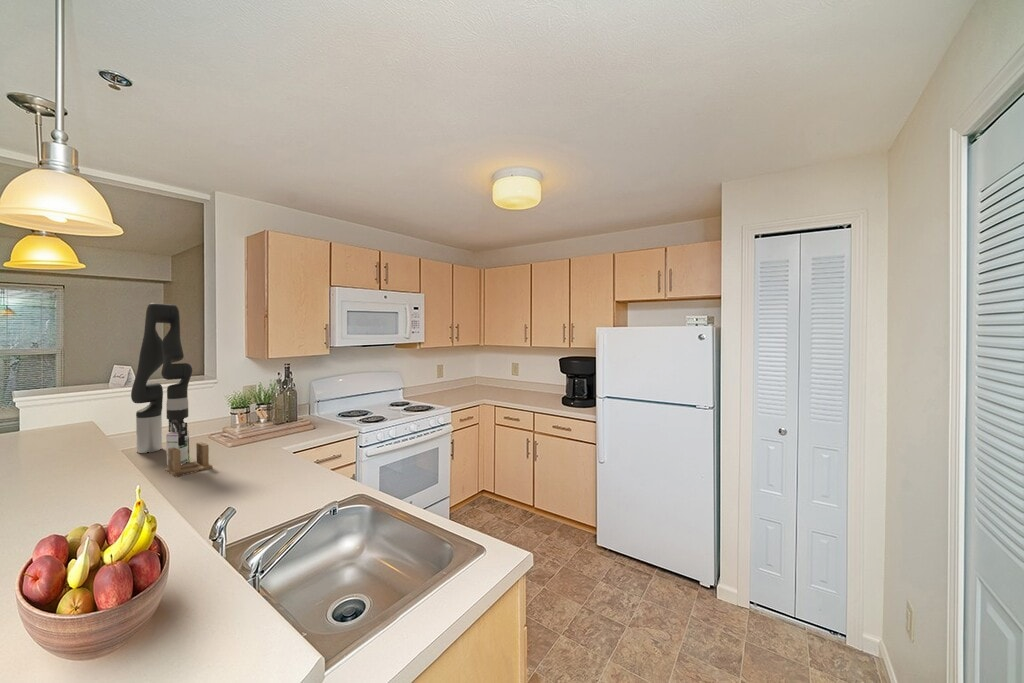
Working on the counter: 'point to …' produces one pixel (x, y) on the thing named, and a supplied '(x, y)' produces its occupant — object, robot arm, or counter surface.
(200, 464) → the slot block
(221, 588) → the counter surface
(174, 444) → the syrup box
